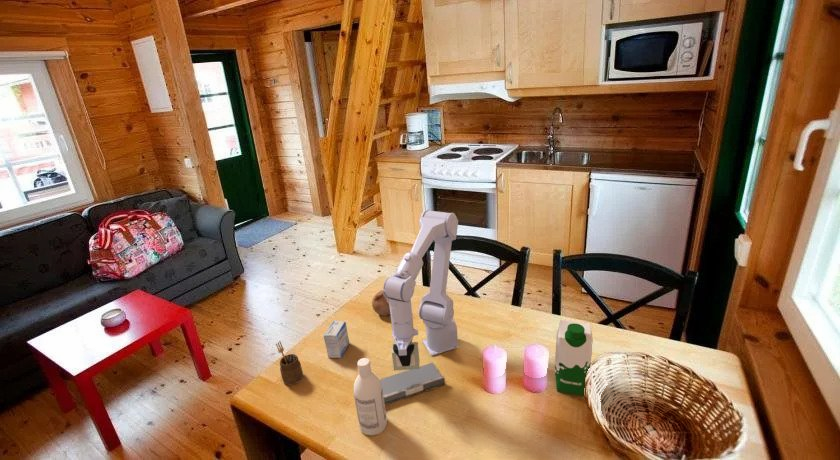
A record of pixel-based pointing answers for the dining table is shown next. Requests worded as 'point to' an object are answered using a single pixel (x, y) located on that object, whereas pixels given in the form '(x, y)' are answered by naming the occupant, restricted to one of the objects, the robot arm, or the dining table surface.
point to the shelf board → (411, 383)
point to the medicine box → (336, 339)
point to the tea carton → (414, 359)
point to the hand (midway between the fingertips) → (406, 359)
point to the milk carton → (572, 356)
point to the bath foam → (369, 400)
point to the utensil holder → (290, 367)
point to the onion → (380, 304)
